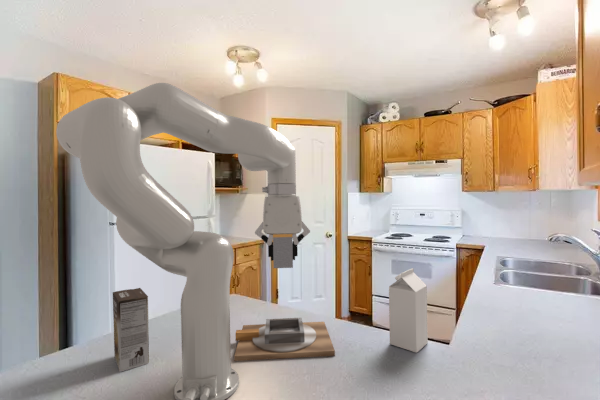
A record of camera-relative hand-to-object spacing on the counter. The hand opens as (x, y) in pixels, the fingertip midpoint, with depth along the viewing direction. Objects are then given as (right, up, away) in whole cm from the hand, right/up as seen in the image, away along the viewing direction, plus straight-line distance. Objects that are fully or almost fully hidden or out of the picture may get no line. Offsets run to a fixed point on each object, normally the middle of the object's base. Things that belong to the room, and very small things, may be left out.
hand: (283, 258), depth 83 cm
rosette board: (0, -22, 0) cm, 22 cm away
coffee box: (-36, -23, -8) cm, 44 cm away
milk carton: (+33, -22, -3) cm, 39 cm away
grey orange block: (0, -2, 0) cm, 2 cm away
